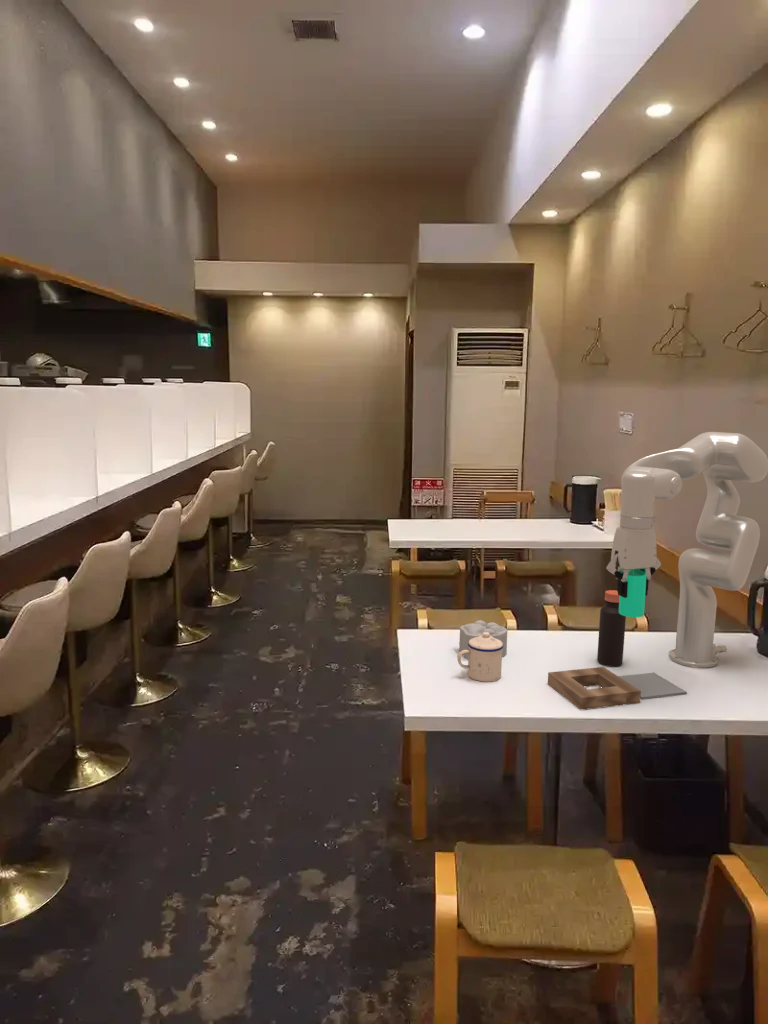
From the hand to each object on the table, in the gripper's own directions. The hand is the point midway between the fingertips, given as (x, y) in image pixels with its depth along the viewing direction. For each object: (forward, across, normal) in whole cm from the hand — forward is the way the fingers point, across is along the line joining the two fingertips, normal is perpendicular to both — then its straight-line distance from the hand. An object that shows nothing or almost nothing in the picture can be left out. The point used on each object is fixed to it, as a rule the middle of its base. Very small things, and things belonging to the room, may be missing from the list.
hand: (632, 594), depth 179 cm
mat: (+25, -6, 0) cm, 25 cm away
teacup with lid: (+24, +34, -16) cm, 44 cm away
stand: (+24, +10, +1) cm, 26 cm away
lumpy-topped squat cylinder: (+24, +26, -31) cm, 47 cm away
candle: (+5, 0, 0) cm, 5 cm away
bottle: (+25, -5, -17) cm, 31 cm away
